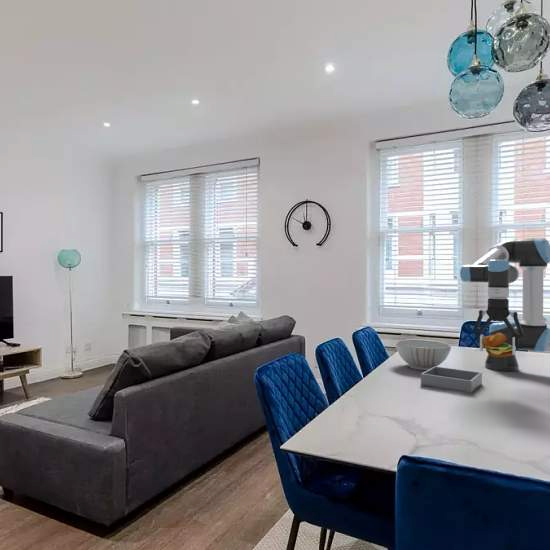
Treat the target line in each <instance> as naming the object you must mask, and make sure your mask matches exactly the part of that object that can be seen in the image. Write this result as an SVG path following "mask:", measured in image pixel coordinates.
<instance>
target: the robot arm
mask: <svg viewBox="0 0 550 550" xmlns="http://www.w3.org/2000/svg"><path fill="white" fill-rule="evenodd" d="M510 263H511V264H518V267H519V268H520V269H521V270H522V319H521V320H520V319H519V318H518V316H519V314H518V311H511V310H510V309H509V308H510V307H509V304H510V303H509V301H510V300H509V296H510V295H509V294H510V284H511V283H514V282H516V281H517V280H518V279H519V275H520V273H519V269H518V268H517V267H516V266H515V265H511V264H510ZM548 264H550V242H549V241H548V240H547V238H544V237H543V238H537V237H535V238H514V239H513V238H512V239H507V240H504V241H501V242H499V243H497V244H495V245H493V246H492V247H491V248H490V249H489V250H488V252H487V253H486V254H484V255H483V256H482V257H481V258H479V259H478V260H477V261H475V262H474V263H472V264H463V265H462V266H461V267H460V270H459V276H460V280H461V281H462V282H465V283H487V285H488V286H487V297H488V298H487V309H486V310H483V309H480V310H478V311H479V312H478V317H477V319H476V322H475V324H474V326H473V329H472V333H473V334H475V335H476V337H477V338H476V340H477V341H476V342H477V343H479V352H484V346H483V344H482V341H483V338H484V334H482V333H483V332H484V331H485V330H486V328H487V327H488V326H489V329H488V330H489V331H488V336H489V335H495V334H496V333H502V334H504V335H505V336H506V337H507V340H506V341H504V342H503V343H507V344H508V345H511V346H512V347H511V348H512V355H513V356H512V355H511V356H506V357H496V356H492V355H489V354H488V353H487V356H486V358H485V361H484V368H486V369H489V370H494V371H501V372H517V371H519V368H520V366H519V363H518V359H517V357H516V350H519V351H520V350H521V351H529V352H535V353H536V352H538V353H539V352H540V353H544V352H547V350H548V348H549V346H550V328H549V327H548V324H547V322H546V321H545V320H544V270H545V269H546V268H548ZM486 315H487V316H488V318H487V319H486V321H485V322H484V324H483V325H482V326H481V327H480V325H481V322H482V319H483V317H484V316H486ZM509 316H511V317H512V318H513V321H510V320H509V319H508V317H509ZM491 322H493V323H491ZM490 323H491V324H490ZM479 327H480V328H479ZM478 329H479V330H478Z"/></svg>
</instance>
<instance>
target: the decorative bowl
mask: <svg viewBox="0 0 550 550" xmlns="http://www.w3.org/2000/svg"><path fill="white" fill-rule="evenodd" d="M395 349H396V350H397V353H398V355H399V356H400V358H401V359H402V360H403V361H404V362H405V363H407V365H409V368H411V369H414V370H421V371H427V370H429V369H431V368H432V367H434V366H436V367H439V365H441V364H442V363H444V362H445V361H446V359H447V358H448V356H450V355H449V354H450V353H451V350H452V344H450V343H447V342H444V341H438V340H429V339H401V340H399V339H398V340H397V341H395Z"/></svg>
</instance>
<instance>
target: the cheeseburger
mask: <svg viewBox="0 0 550 550" xmlns="http://www.w3.org/2000/svg"><path fill="white" fill-rule="evenodd" d="M506 340H507V337H506V336H505V335H504V334H502V333H496V334H495V335H489V334H488V335H487V336H483V341H482V344H483V347H484V348H485V352H486V353H487V355H488V354H489V355H492V356H496V357H506V356H511V355H512V348H511V347H512V346H511V345H508V344H507V343H503V342H504V341H506ZM512 356H513V355H512Z"/></svg>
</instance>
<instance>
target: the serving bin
mask: <svg viewBox="0 0 550 550" xmlns="http://www.w3.org/2000/svg"><path fill="white" fill-rule="evenodd" d="M482 379H483V372H479V371H471V370H464V369H457V368H449V367H442V366H434V367H432V368H431V369H429V370H424V371H423V372H421V373H420V387H421V386H422V387H427V388H433V389H438V390H446V391H453V392H459V393H464V394H470V395H471V394H473V393H474V392H475V391H476V390H478V389H479V387H480V386H482V385H483V383H482V382H483V380H482Z"/></svg>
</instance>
